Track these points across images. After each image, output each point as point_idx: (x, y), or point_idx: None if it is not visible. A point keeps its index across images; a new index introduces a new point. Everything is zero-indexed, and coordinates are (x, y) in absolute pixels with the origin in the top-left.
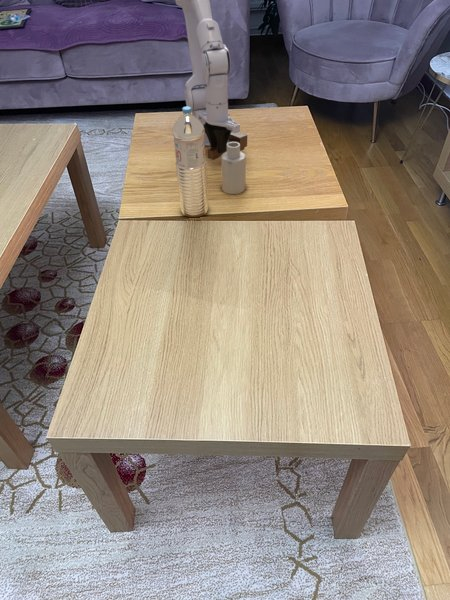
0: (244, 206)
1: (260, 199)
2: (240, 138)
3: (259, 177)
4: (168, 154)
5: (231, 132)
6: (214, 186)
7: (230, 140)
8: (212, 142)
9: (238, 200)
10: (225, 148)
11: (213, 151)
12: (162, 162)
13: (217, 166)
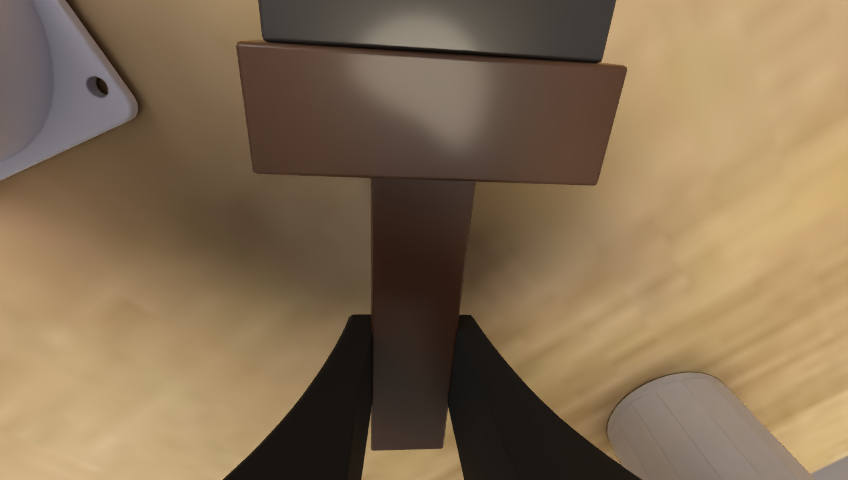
0: None
1: (833, 404)
2: (595, 173)
3: (774, 259)
4: (50, 408)
5: (353, 111)
6: None
7: (421, 191)
8: (366, 437)
9: None
10: (481, 332)
11: (443, 443)
12: (141, 474)
13: None
